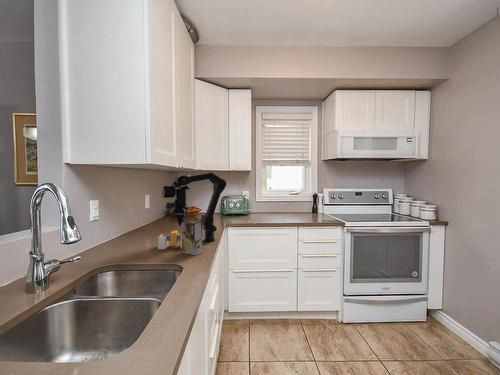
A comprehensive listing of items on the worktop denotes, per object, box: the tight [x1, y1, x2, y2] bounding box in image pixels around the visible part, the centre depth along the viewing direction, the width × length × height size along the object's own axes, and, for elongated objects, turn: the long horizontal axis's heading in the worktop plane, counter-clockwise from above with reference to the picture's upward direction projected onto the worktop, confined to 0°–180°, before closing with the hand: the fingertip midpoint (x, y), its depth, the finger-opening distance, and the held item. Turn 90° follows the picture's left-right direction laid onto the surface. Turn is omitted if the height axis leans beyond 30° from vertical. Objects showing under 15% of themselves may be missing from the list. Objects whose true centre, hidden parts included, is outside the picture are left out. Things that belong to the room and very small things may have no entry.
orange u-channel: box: [169, 230, 179, 247], centre depth 144 cm, size 7×3×7 cm, turn 7°
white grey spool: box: [157, 233, 182, 250], centre depth 144 cm, size 16×7×7 cm, turn 97°
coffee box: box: [181, 220, 203, 256], centre depth 134 cm, size 9×6×16 cm
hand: (181, 224), depth 149 cm, fingers open, 9 cm apart
